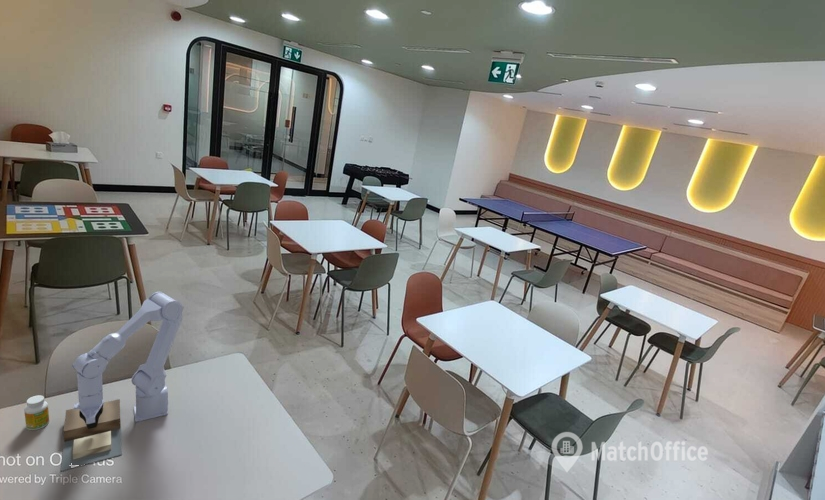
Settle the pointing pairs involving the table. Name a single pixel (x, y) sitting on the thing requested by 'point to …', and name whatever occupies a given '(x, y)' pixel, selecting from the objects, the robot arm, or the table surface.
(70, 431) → the walnut deck
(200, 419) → the table surface
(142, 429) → the table surface
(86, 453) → the birch tile
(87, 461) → the slate mat
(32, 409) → the supplement bottle
